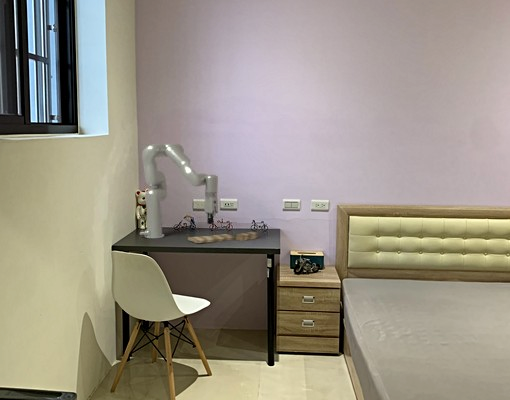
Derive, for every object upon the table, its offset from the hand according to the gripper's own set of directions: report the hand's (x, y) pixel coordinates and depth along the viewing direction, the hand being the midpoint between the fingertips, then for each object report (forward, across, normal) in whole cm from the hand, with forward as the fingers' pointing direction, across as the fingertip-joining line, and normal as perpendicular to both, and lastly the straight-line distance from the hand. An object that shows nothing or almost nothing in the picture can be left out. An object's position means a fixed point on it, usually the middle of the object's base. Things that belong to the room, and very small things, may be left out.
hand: (210, 223), depth 359 cm
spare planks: (+10, -8, -23) cm, 26 cm away
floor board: (+11, 0, -9) cm, 14 cm away
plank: (+11, 0, +5) cm, 12 cm away
